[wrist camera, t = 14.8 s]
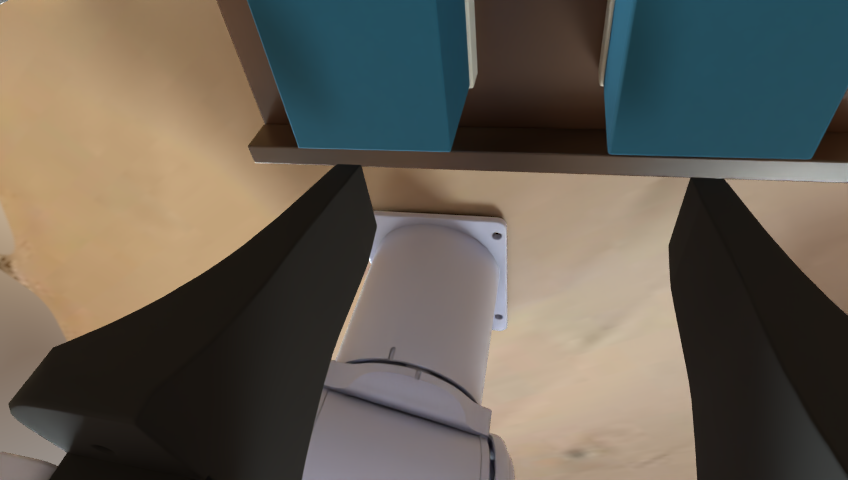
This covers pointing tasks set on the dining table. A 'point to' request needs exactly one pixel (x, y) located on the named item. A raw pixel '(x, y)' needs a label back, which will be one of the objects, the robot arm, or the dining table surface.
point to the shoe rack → (524, 106)
